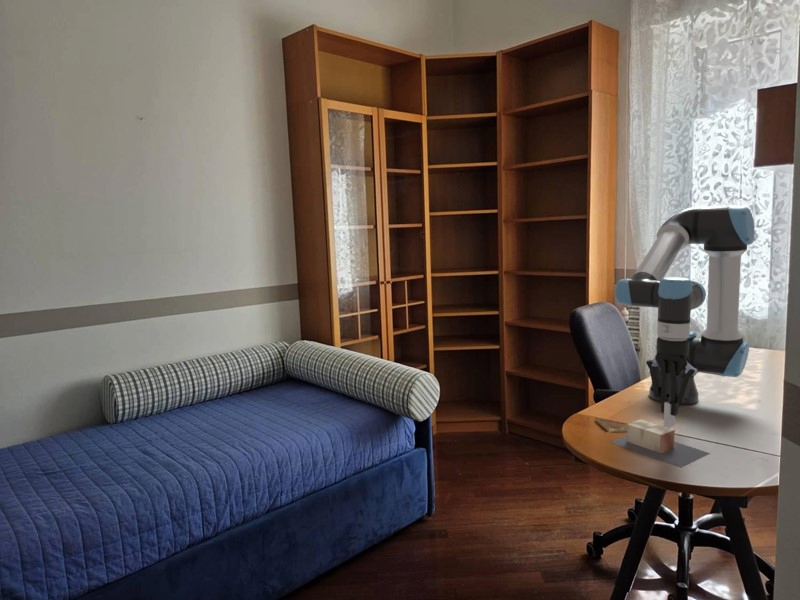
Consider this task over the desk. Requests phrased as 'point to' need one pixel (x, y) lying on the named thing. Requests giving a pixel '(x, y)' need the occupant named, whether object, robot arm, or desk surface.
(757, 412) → the desk surface
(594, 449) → the desk surface
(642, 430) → the birch block
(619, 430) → the shard
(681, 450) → the rubber mat
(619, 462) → the desk surface
